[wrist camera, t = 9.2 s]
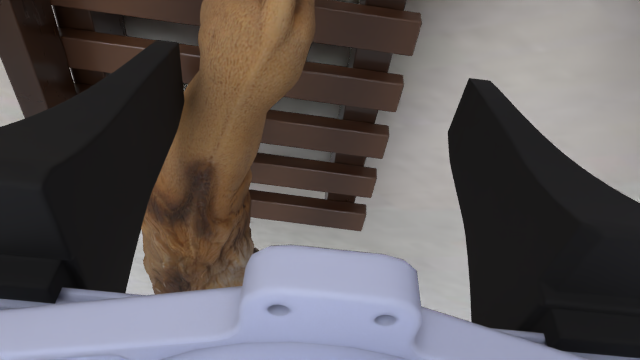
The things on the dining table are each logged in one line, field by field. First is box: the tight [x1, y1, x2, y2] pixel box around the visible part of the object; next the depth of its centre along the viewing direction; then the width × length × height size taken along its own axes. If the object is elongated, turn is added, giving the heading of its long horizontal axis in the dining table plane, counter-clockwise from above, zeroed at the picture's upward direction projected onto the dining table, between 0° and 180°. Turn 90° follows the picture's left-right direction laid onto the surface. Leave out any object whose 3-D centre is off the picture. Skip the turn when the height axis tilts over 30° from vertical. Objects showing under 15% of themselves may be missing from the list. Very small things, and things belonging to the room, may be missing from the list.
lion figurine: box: [141, 0, 315, 294], centre depth 17 cm, size 15×5×9 cm, turn 167°
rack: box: [0, 0, 422, 231], centre depth 23 cm, size 16×20×6 cm
